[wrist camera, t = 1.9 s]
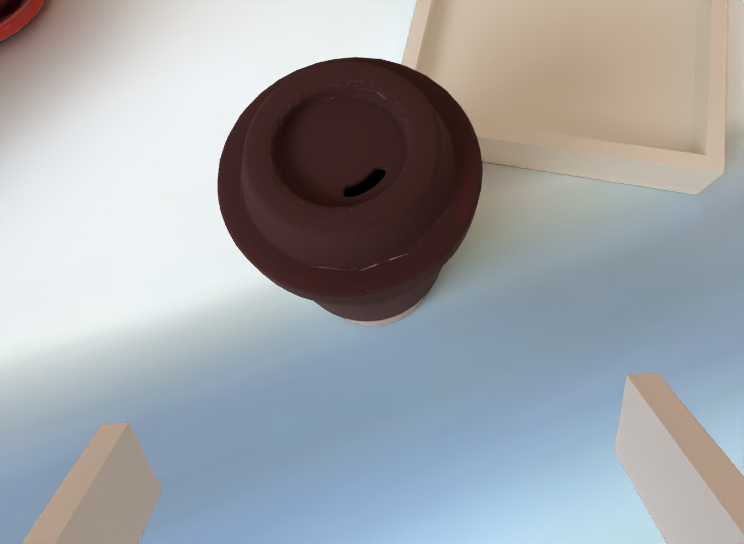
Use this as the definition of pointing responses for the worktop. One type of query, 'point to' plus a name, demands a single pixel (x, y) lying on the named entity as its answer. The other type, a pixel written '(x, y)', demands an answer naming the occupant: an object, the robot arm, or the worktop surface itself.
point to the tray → (585, 84)
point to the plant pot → (16, 15)
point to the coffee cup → (352, 185)
